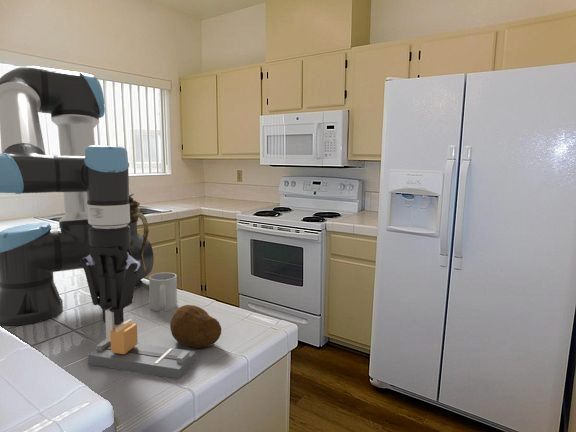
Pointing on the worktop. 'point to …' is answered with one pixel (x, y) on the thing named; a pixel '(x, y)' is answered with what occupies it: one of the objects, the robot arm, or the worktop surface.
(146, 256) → the pitcher
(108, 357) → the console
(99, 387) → the worktop surface
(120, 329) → the slider
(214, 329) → the potato
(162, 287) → the cup
